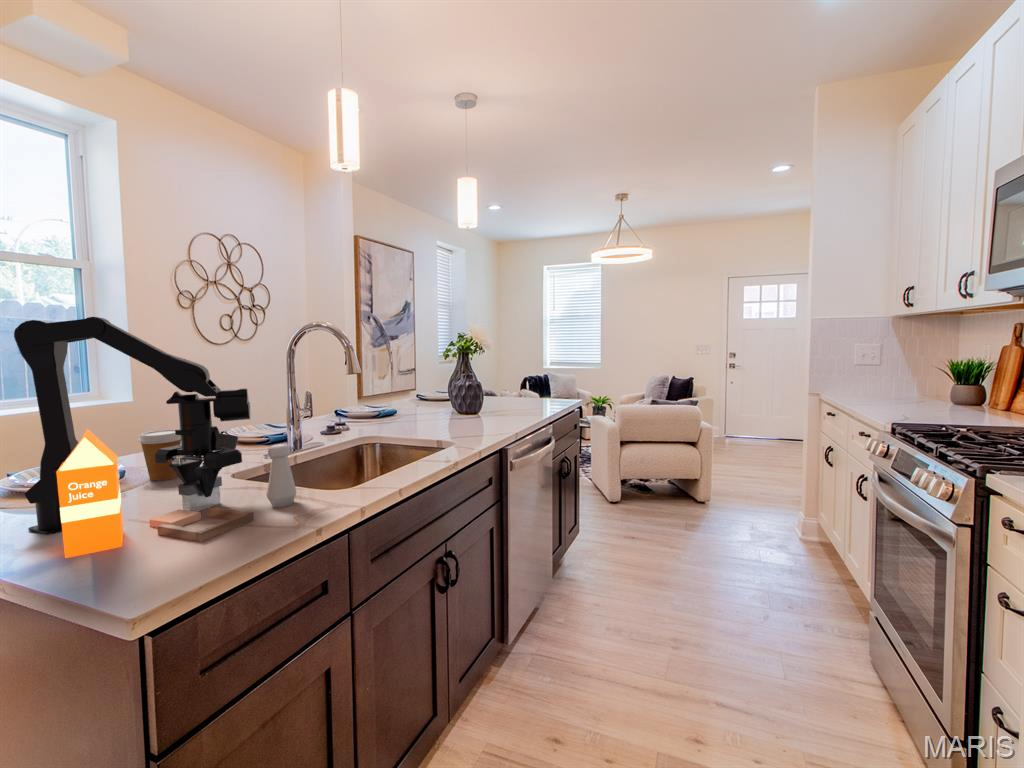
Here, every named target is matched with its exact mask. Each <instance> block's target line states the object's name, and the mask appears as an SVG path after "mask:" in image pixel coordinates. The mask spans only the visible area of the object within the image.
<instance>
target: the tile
mask: <svg viewBox="0 0 1024 768" xmlns="http://www.w3.org/2000/svg"><path fill="white" fill-rule="evenodd" d="M201 513H202V512H200V511H197V512H194V511H187V510H183V509H176V510H174V511H171V512H168V513H164V514H161V515H158V516H156V517H152V518H150V519H149V527H151V528H152V527H153V528H157V526H159V525H162V524H168V525H174V526H181V527H184V526H185V525H188V524H191V523H194V522H197V521H199V520H201V519H202V514H201Z"/></svg>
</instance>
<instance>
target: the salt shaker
mask: <svg viewBox="0 0 1024 768" xmlns="http://www.w3.org/2000/svg"><path fill="white" fill-rule="evenodd" d="M267 455H268V457H269V458H271V465H270V471H269V477H268V478H269V479H268V483H267V491H266V499H268V501H269V503H270V504H271V506H272V508H284V507H289V506H291V505H292V504H294V501H295V498H296V495H297V488H296V484H295V480H294V477H293V472H292V470H291V469H292V468H291V465H290V461H289V457H288V456H290V455H291V447H290V446H289V445H288V444H285V443H278V444H277V443H276V444H274V445H271V446H270V447H268V449H267Z"/></svg>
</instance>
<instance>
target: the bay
mask: <svg viewBox="0 0 1024 768" xmlns="http://www.w3.org/2000/svg"><path fill="white" fill-rule="evenodd" d="M206 515H207V517H209V518H210V517H211V518H217V519H224V521H221V522H219V523H216V524H213V525H211V526H208V527H206V528H204V529H199V528H192V527H186V526H174V525H168V524H162V525H159V526H157V527H156V530H157V535H159V536H164V537H171V538H174V539H175V538H177V539H181V540H189V541H192V542H193V541H194V542H200V543H202V542H204V541H208V540H210V539H212V538H215V537H217V536H220V535H222V534H224V533H226V532H228V531H231V530H233V529H237V528H238V527H240V526H243V525H246V524H248V523H251V522H253V521H254V517H255V516H254V512H252V511H245V510H238V509H232V508H225V507H217V506H211V507H209V508H206Z"/></svg>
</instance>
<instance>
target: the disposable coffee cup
mask: <svg viewBox="0 0 1024 768" xmlns="http://www.w3.org/2000/svg"><path fill="white" fill-rule="evenodd" d="M175 430H176V429H161V430H160V429H159V430H152V431H147V432H142V433H140V436H139V438H138V442H139V443H140V444H141V448H142V453H143V456H144V460H145V465H146V469H147V473H148V479H149V480H150V481H154V480H157V481H165V480H171V479H175V478H177V477H178V475H177V474H176V473H175V472H174V471H173V469H172V468H169V465H171V464H172V459H170V460H168V462H167V463H156V461H155V453H156V452H157V451H158V450H159V449H161V448H166V447H171V446H176V445H181V435H175Z"/></svg>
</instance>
